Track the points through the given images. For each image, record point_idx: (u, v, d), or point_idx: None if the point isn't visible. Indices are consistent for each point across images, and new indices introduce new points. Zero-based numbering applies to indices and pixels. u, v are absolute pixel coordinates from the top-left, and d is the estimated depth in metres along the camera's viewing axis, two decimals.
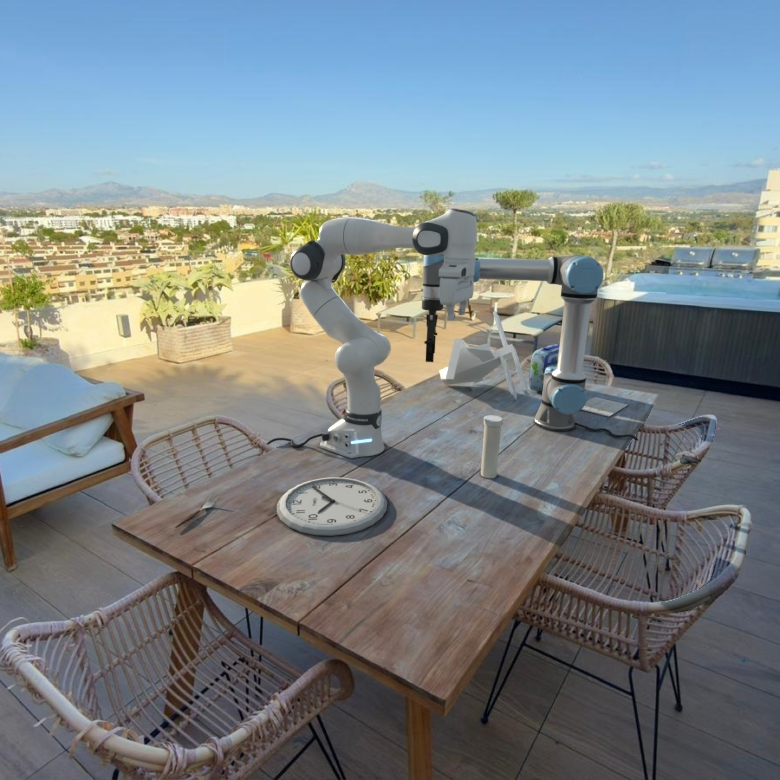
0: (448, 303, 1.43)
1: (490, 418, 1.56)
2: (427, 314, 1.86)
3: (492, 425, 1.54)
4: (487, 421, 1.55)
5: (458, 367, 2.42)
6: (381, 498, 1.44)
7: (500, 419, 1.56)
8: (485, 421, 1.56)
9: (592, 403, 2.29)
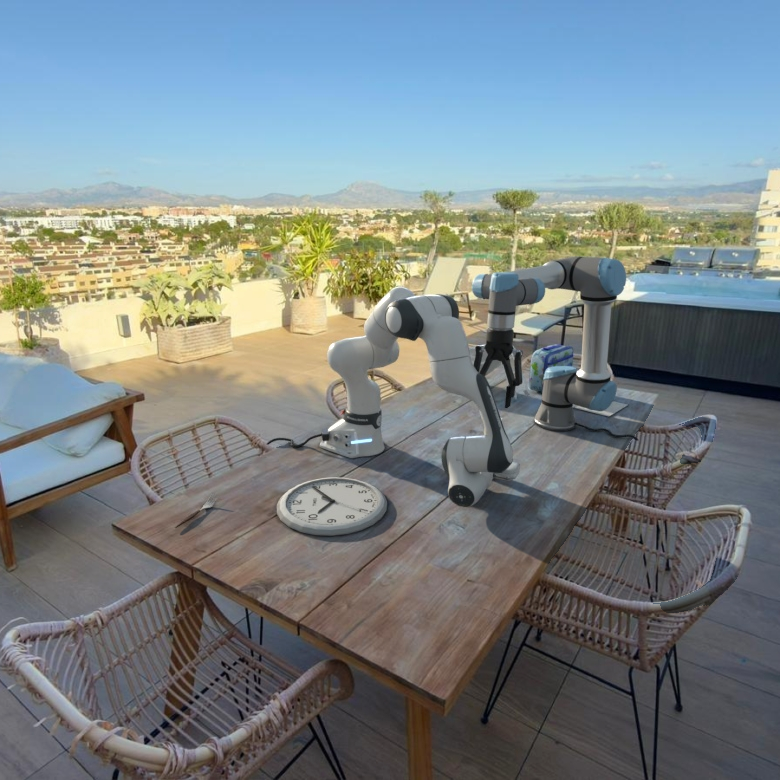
0: None
1: None
2: None
3: None
4: None
5: None
6: (381, 498, 1.44)
7: None
8: None
9: None
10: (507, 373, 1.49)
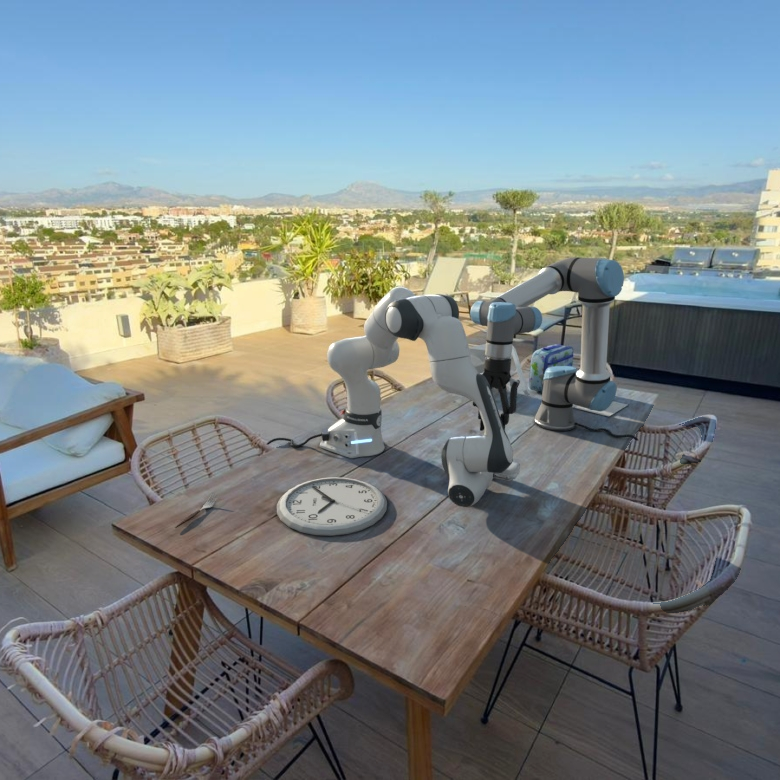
0: None
1: None
2: None
3: None
4: None
5: None
6: (381, 498, 1.44)
7: None
8: None
9: None
10: (502, 401, 1.52)
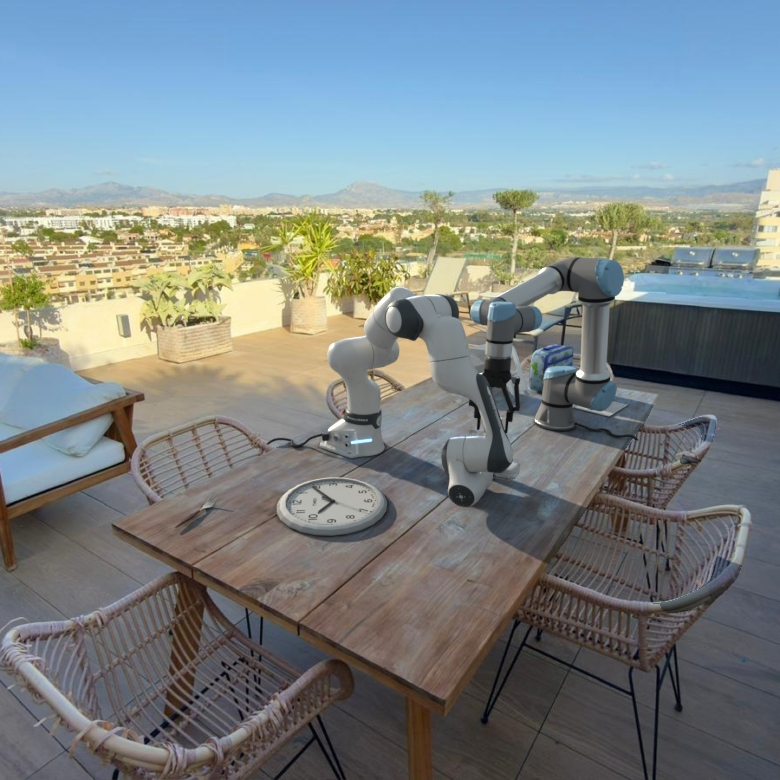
0: None
1: None
2: None
3: None
4: None
5: None
6: (381, 498, 1.44)
7: None
8: None
9: None
10: (507, 399, 1.53)
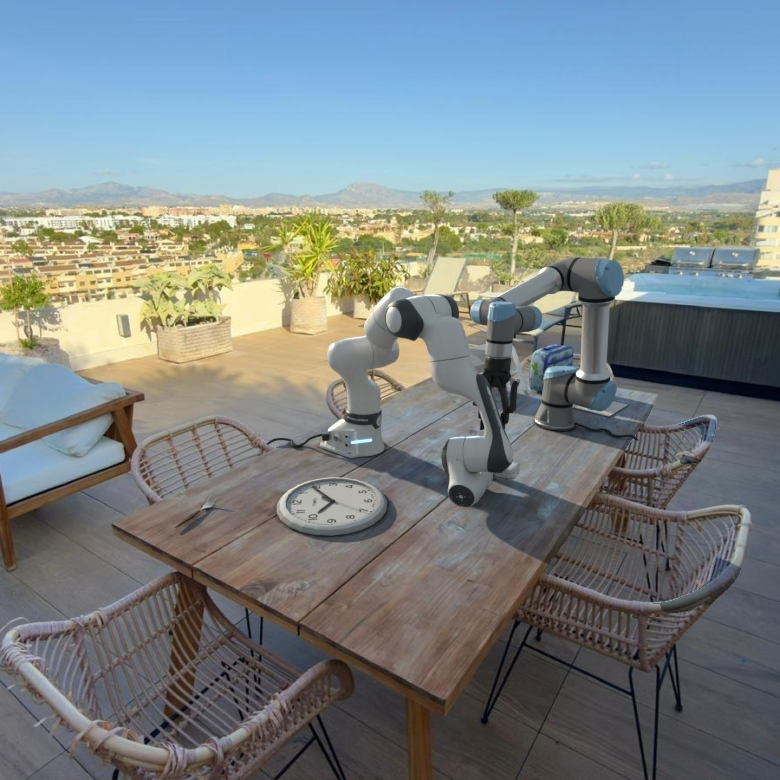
0: None
1: None
2: None
3: None
4: None
5: None
6: (381, 498, 1.44)
7: None
8: None
9: None
10: (502, 400, 1.52)
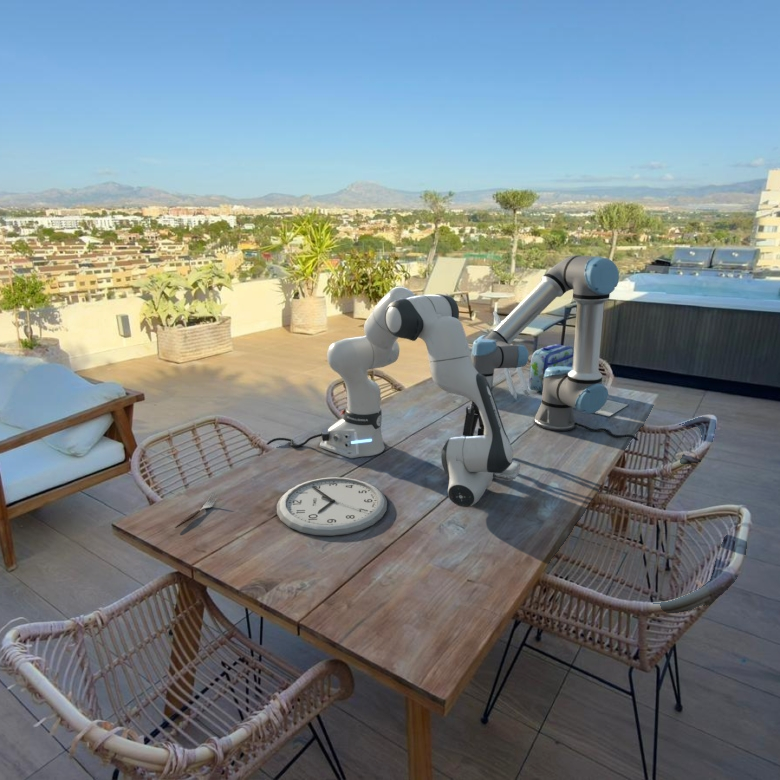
0: None
1: None
2: None
3: None
4: None
5: None
6: (381, 498, 1.44)
7: None
8: None
9: None
10: None
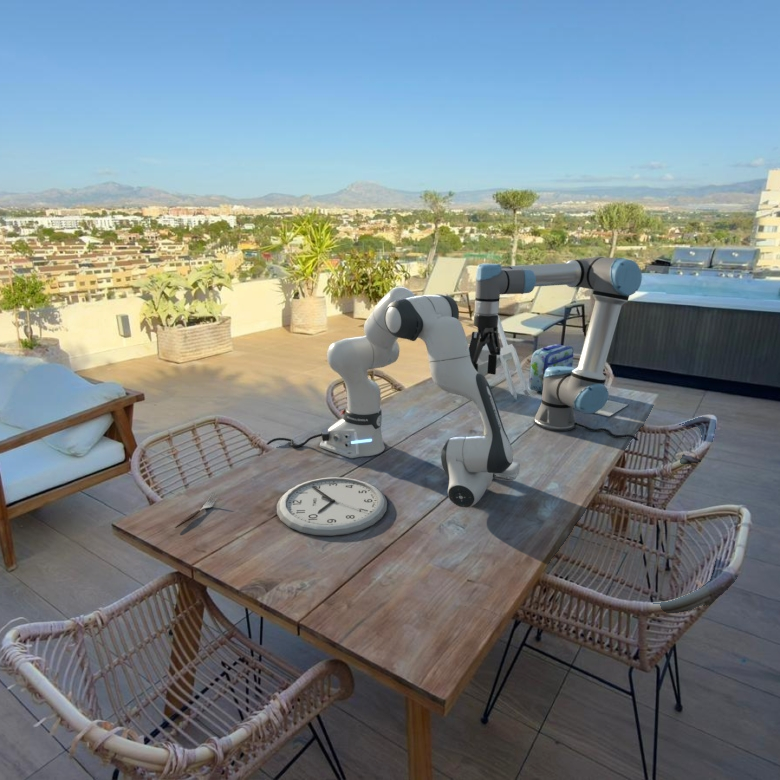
0: None
1: None
2: None
3: None
4: None
5: None
6: (381, 498, 1.44)
7: None
8: None
9: None
10: (494, 346, 1.72)
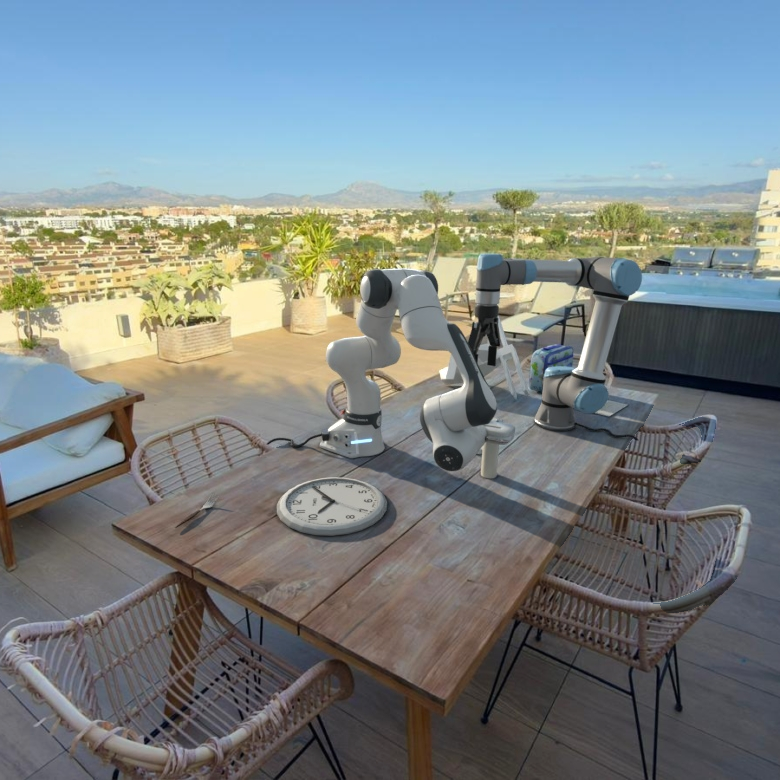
0: None
1: None
2: None
3: None
4: None
5: None
6: (381, 498, 1.44)
7: None
8: None
9: None
10: (495, 337, 1.71)
